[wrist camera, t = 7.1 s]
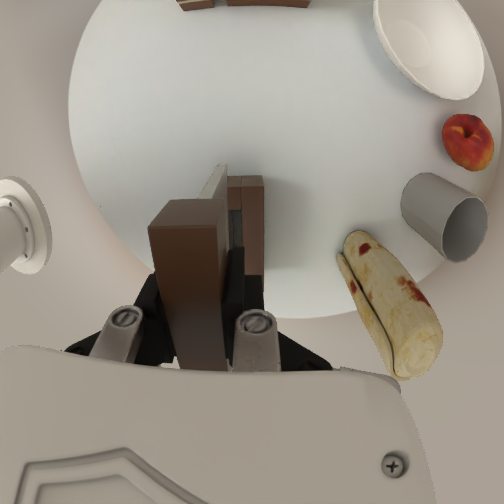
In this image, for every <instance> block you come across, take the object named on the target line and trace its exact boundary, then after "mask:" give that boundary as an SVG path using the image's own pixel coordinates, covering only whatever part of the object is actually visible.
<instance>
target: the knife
mask: <svg viewBox="0 0 504 504" xmlns="http://www.w3.org/2000/svg"><path fill="white" fill-rule="evenodd" d="M147 229H148V235H149V241H150V246H151V252H152V257H153V262H154V268H155V272H156V277H157V282H158V287H159V291H160V295H161V300H162V302H163V306H164V310H165V314H166V318H167V322H168V326H169V330H170V333H171V337H172V341H173V344H174V348H175V351H176V355H177V360H178V363H179V366H180V369H186V370H201V371H222V372H231V371H232V367H231V366H230V365H229V359H226V358H225V348H224V338H223V328H222V317H221V303H222V295H223V288H224V281H225V273H226V266H227V253H228V250H229V229H228V197H227V165H218V166H217V168H216V169H215V171H214V173H213V174H212V176H211V178H210V179H209V181H208V182H207V184H206V186H205V187H204V189H203V191H202V192H201V194H200V196H199V197H198V199H180V200H170V201H169V202H168V203H167V204H166V205H165V206H164V208H163V209H162V210H161V211H160V212H159V214H158V215H157V216H156V217H155V218H154V220H153V221H152V222H151V223H150V225H149V226H148V228H147Z"/></svg>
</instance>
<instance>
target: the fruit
mask: <svg viewBox="0 0 504 504" xmlns="http://www.w3.org/2000/svg"><path fill="white" fill-rule="evenodd" d="M442 138H443V142H444V145H445V148H446V150H447V152H448V154H449V156H450V157H451V158H452V160H453V161H454V162H455V163H457V164H458V165H460V166H462V167H464V168H465V169H467V170H469V171H479V170H483V169H484V168H486V167H487V166H488V165H489V163H490V161H491V159H492V156H493V152H494V142H493V138H492V135H491V133H490V131H489V130H488V128H487V127H486V126H485V125H484V124H483V122H482V121H481V119H480V118H478V117H476V116H474V115H469V114H456V115H453V116H452V117H451V118H449V119H448V120H447V122H446V123H445V124H444V127H443V130H442Z"/></svg>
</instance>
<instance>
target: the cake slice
mask: <svg viewBox="0 0 504 504" xmlns="http://www.w3.org/2000/svg"><path fill="white" fill-rule="evenodd" d="M176 1H177V2H178V3H179V5H180V6H181V8H182V9H183V11H188V10H196V9H204V8H213V7H214V0H176Z"/></svg>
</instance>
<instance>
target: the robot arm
mask: <svg viewBox="0 0 504 504" xmlns="http://www.w3.org/2000/svg"><path fill="white" fill-rule="evenodd" d="M34 248H35V237H34V231H33V227H32V224H31V221H30V218H29V216H28V214H27V212H26V211H25V209H24V208H23V206H22V205H21V204H20V203H19V202H18V201H17V200H16V199H14V198H13V197H10V196H3V197H1V198H0V274H1V273H2V272H3V271H4V270H5V269H6V268H7V267H9V266H10V265H11V264H12V263H13V262H17V263H24V262H26V261H28V260H29V259H30V258H31V256H32V255H33V252H34ZM221 317H222V328H223V338H224V348H225V358H226V359H229V365H230V366H231V367H232V372H222V371H201V370H186V369H173V368H163V367H161V366H160V364H162V363H173V359H174V356H177V355H176V351H175V348H174V344H173V341H172V337H171V333H170V330H169V326H168V322H167V318H166V314H165V310H164V306H163V302H162V300H161V295H160V291H159V287H158V282H157V277H156V272H155V271H154V273H153V274H150V275H149V276H148V278H147V280H146V282H145V284H144V286H143V287H142V289H141V291H140V293H139V295H138V297H137V299H136V301H135V303H134V305H133V306H132V305H126V306H122V307H119V308H117V309H115V310H114V311H113V312H112V313H111V314H110V316H109V317H108V319H107V321H106V323H105V325H104V327H103V329H102V330H101V331H99V332H97V333H95V334H93V335H91V336H89V337H87V338H85V339H83V340H81V341H79V342H77V343H75V344H73V345H71V346H69V347H68V348H67V349H66V350H65V351H62V350H60V351H59V350H54V349H49V348H45V347H40V346H32V345H18V346H12V347H9V348H6V349H4V350H2V351H1V352H0V504H436V499H435V493H434V488H433V483H432V479H431V475H430V471H429V467H428V463H427V460H426V456H425V452H424V449H423V445H422V442H421V439H420V437H419V434H418V430H417V428H416V425H415V423H414V420H413V418H412V416H411V413H410V411H409V409H408V407H407V405H406V403H405V401H404V399H403V398H402V396H401V389H400V385H399V383H398V382H397V380H395V379H394V378H393V377H390V376H387V375H383V374H376V373H371V372H366V371H360V370H355V369H351V368H346V367H340V369H336V368H332V366H331V365H330V363H329V362H327V361H326V360H325V359H323V358H322V357H320V356H318V355H316V354H315V353H313V352H311V351H310V350H308V349H306V348H305V347H303V346H301V345H300V344H298V343H296V342H295V341H293V340H292V339H290V338H288V337H287V336H285V335H283V334H281V333H280V332H278V331H277V322H276V319H275V317H274V316H273V315H272V314H271V313H269V312H268V311H264V299H263V284H262V275H245V247H233V248H232V250H228V253H227V266H226V273H225V281H224V288H223V295H222V303H221Z"/></svg>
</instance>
